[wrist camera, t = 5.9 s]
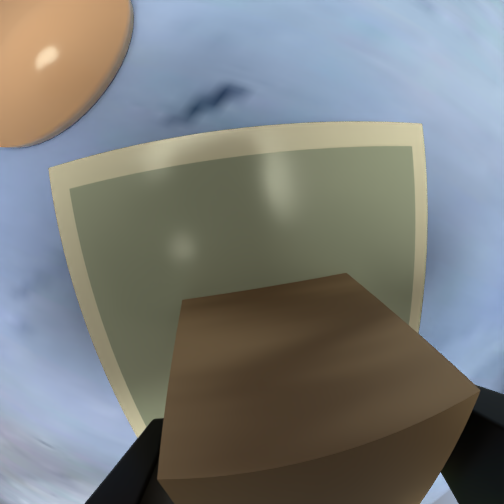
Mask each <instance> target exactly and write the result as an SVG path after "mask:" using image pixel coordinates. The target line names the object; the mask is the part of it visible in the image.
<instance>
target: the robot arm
mask: <svg viewBox="0 0 504 504" xmlns="http://www.w3.org/2000/svg"><path fill="white" fill-rule="evenodd" d="M474 385H475V384H474ZM475 386H477V385H475ZM477 387H478V388H479V389H480V390H481V391H480V393H479V396H478V398H477V400H476V403H475V405H474V408H473V410H472V412H471V414H470V417H469V419H468V421H467V423H466V425H465V427H464V429H463V431H462V433H461V435H460V437H459V439H458V441H457V443H456V445H455V447H454V449H453V451H452V453H451V455H450V456H449V458H448V460H447V462H446V463H445V465H444V467H443V469H442V470H441V474H442V475H443V477H444V479H445V480H446V482H447V484H448V486H449V487H450V489H451V491H452V493H453V494H454V496H455V498H456V500H457V502H458V503H459V504H504V394H501V393H498V392H495V391H492V390H489V389H486V388H483V387H480V386H477ZM163 420H164V418H155V419H153V420H152V421H151V422H150V423H149V424H148V426H147V427H146V428H145V430H144V431H143V432H142V433H141V435H140V436H139V437H138V438H137V440H136V441H135V442H134V443H133V445H132V446H131V447H130V448H129V450H128V451H127V452H126V453H125V455H124V456H123V457H122V458H121V460H120V461H119V462H118V463H117V465H116V466H115V467H114V468H113V470H112V471H111V472H110V473H109V474H108V476H107V477H106V478H105V479H104V481H103V482H102V483H101V484H100V485H99V487H98V488H97V489H96V490H95V492H94V493H93V494H92V495H91V496H90V498H89V499H88V500H87V501H86V502H85V504H174V502H173V501H172V500H171V498H170V497H169V496H168V494H167V493H166V491H165V490H164V489H163V487H162V486H161V484H160V483H159V481H158V480H157V475H158V465H159V455H160V445H161V437H162V428H163Z"/></svg>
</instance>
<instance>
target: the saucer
mask: <svg viewBox="0 0 504 504" xmlns="http://www.w3.org/2000/svg"><path fill="white" fill-rule="evenodd" d="M133 22H134V14H133V6H132V3H131V0H0V147H14V148H21V147H29V146H33V145H36V144H40V143H42V142H45V141H47V140H49V139H51V138H53V137H55V136H57V135H58V134H60V133H62V132H63V131H65V130H66V129H67V128H69V127H70V126H72V125H73V124H74V123H75V122H76V121H78V120H79V119H80V118H81V117H82V116H83V115H84V114H85V113H86V112H87V111H88V110H89V109H90V108H91V107H92V106H93V105H94V104H95V103H96V102H97V101H98V99H99V98H100V97H101V96H102V94H103V93H104V92H105V91H106V89H107V88H108V86H109V85H110V83H111V82H112V80H113V79H114V77H115V75H116V74H117V72H118V70H119V68H120V67H121V64H122V62H123V60H124V58H125V55H126V53H127V50H128V47H129V44H130V41H131V36H132V32H133Z"/></svg>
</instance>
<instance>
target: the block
mask: <svg viewBox="0 0 504 504" xmlns="http://www.w3.org/2000/svg"><path fill="white" fill-rule="evenodd" d="M480 391H481V390H480V389H479V388H478V387H477V386H475V385H474V384H473V383H472V382H471V381H470V380H469V379H468V378H467V377H466V376H465V375H464V374H463V373H462V372H460V371H459V370H458V369H457V368H456V367H455V366H454V365H453V364H452V363H451V362H450V361H448V360H447V359H446V358H445V357H444V356H443V355H442V354H441V353H440V352H438V351H437V350H436V349H435V348H434V347H433V346H432V345H431V344H429V343H428V342H427V341H426V340H425V339H424V338H423V337H422V336H420V335H419V334H418V333H417V332H416V331H415V330H414V329H412V328H411V327H410V326H409V325H408V324H407V323H406V322H404V321H403V320H402V319H401V318H400V317H399V316H397V315H396V314H395V313H394V312H393V311H392V310H390V309H389V308H388V307H387V306H386V305H385V304H383V303H382V302H381V301H380V300H379V299H377V298H376V297H375V296H374V295H373V294H371V293H370V292H369V291H368V290H367V289H365V288H364V287H363V286H362V285H361V284H359V283H358V282H357V281H356V280H355V279H353V278H352V277H351V276H350V275H349V274H347V273H342V274H337V275H331V276H326V277H320V278H315V279H309V280H304V281H298V282H292V283H286V284H281V285H275V286H269V287H263V288H256V289H250V290H244V291H238V292H231V293H225V294H218V295H212V296H205V297H198V298H191V299H184V300H182V304H181V310H180V315H179V321H178V327H177V332H176V338H175V344H174V350H173V357H172V363H171V369H170V376H169V383H168V390H167V397H166V404H165V412H164V420H163V428H162V437H161V445H160V455H159V465H158V475H157V480H158V481H159V483H160V484H161V486H162V487H163V489H164V490H165V491H166V493H167V494H168V496H169V497H170V498H171V500H172V501H173V502H174V504H420V503H421V501H422V500H423V498H424V497H425V495H426V494H427V492H428V491H429V489H430V488H431V486H432V485H433V483H434V482H435V480H436V478H437V477H438V475H439V474H440V472H441V470H442V469H443V467H444V465H445V463H446V462H447V460H448V458H449V456H450V455H451V453H452V451H453V449H454V447H455V445H456V443H457V441H458V439H459V437H460V435H461V433H462V431H463V429H464V427H465V425H466V423H467V421H468V419H469V417H470V414H471V412H472V410H473V408H474V405H475V403H476V400H477V398H478V396H479V393H480Z"/></svg>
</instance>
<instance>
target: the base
mask: <svg viewBox="0 0 504 504" xmlns="http://www.w3.org/2000/svg"><path fill="white" fill-rule="evenodd" d="M48 169H49V177H50V183H51V190H52V196H53V202H54V208H55V213H56V218H57V223H58V228H59V232H60V237H61V241H62V245H63V250H64V254H65V258H66V261H67V265H68V269H69V273H70V276H71V280H72V283H73V286H74V290H75V293H76V296H77V299H78V302H79V306H80V309H81V312H82V314H83V317H84V320H85V323H86V326H87V329H88V331H89V334H90V337H91V339H92V342H93V345H94V347H95V350H96V352H97V355H98V357H99V359H100V362H101V364H102V367H103V369H104V371H105V374H106V376H107V378H108V380H109V382H110V385H111V387H112V389H113V391H114V393H115V395H116V397H117V400H118V402H119V404H120V406H121V408H122V410H123V412H124V414H125V415H126V417H127V419H128V421H129V423H130V425H131V427H132V429H133V431H134V432H135V434H136V436H137V438H138V437H139V436H140V435H141V433H142V432H143V431H144V430H145V428H146V427H147V426H148V424H149V423H150V422H151V421H152V420H153V419H155V418H164V412H165V404H166V397H167V390H168V383H169V376H170V369H171V363H172V357H173V350H174V344H175V338H176V332H177V327H178V321H179V315H180V310H181V304H182V300H184V299H191V298H198V297H205V296H212V295H218V294H225V293H231V292H238V291H244V290H250V289H256V288H263V287H269V286H275V285H281V284H286V283H292V282H298V281H304V280H309V279H315V278H320V277H326V276H331V275H337V274H342V273H347V274H349V275H350V276H351V277H352V278H353V279H355V280H356V281H357V282H358V283H359V284H361V285H362V286H363V287H364V288H365V289H367V290H368V291H369V292H370V293H371V294H373V295H374V296H375V297H376V298H377V299H379V300H380V301H381V302H382V303H383V304H385V305H386V306H387V307H388V308H389V309H390V310H392V311H393V312H394V313H395V314H396V315H397V316H399V317H400V318H401V319H402V320H403V321H404V322H406V323H407V324H408V325H409V326H410V327H411V328H412V329H414V330H415V331H416V332H417V333H419V326H420V319H421V311H422V303H423V293H424V283H425V270H426V253H427V176H426V160H425V148H424V137H423V128H422V124H418V123H400V122H311V123H293V124H278V125H266V126H255V127H245V128H236V129H228V130H220V131H213V132H206V133H199V134H193V135H186V136H180V137H175V138H169V139H164V140H158V141H153V142H148V143H143V144H138V145H134V146H129V147H125V148H121V149H116V150H112V151H108V152H104V153H100V154H96V155H92V156H89V157H85V158H81V159H78V160H74V161H71V162H67V163H64V164H60V165H57V166H54V167H51V168H48Z"/></svg>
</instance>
